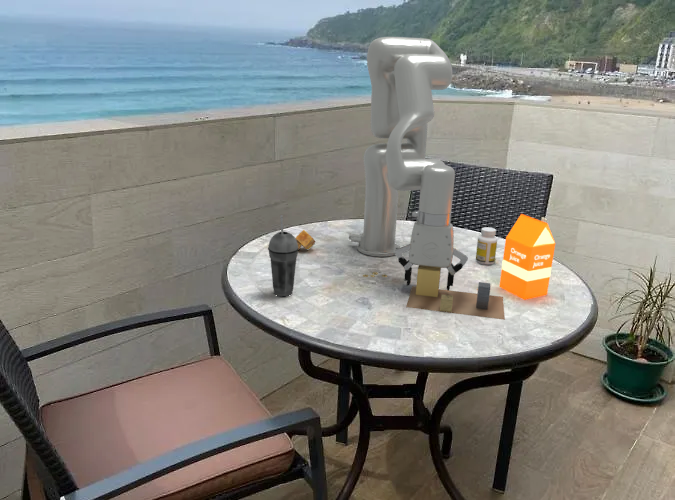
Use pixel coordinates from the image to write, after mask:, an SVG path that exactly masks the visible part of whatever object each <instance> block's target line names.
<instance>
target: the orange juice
mask: <svg viewBox="0 0 675 500" xmlns="http://www.w3.org/2000/svg"><path fill="white" fill-rule="evenodd" d="M504 243H505V244H504V251H503V259H502V263H501V272H500V280H499V288H501V289H503V290H505V291H506V292H508V293H510V294H512V295H514V296H516V297H518V298H520V299H521V300H524V301H525V300H529V299H534V298H539V297H543V296H547V295H548V291H549V285H550V284H549V283H550V278H551V273H552V267H553V261H554V255H555V248H556V242H555V239H554V237H553V234H552V231H551V229H550V226H549V223H548V222H547V223H545V222H543V221H541V220H539V219H537V218H534V217H531V216H529V215H526V214H523V213H520V215H519V216H518V218H517V220H516V222H515V223H514V225H513V226H512V227H511V229H510V231H509V232H508V234H507V235H506V237H505V242H504Z"/></svg>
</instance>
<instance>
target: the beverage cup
mask: <svg viewBox="0 0 675 500" xmlns="http://www.w3.org/2000/svg"><path fill="white" fill-rule="evenodd" d="M298 250H299V248H298V244H297V240H296V237H295V236H294V235H293V234H292V233H290V232H288V231H284V220H283V215H281V214H280V231H278V232H276V233H275V234H273V236H272V237H270V239H269V242H268V248H267V251H268V255H269V258H270V267H271V279H272V289H273V294H275V295H277V296H276V297H278V296H289V295H291V294H292V295H293V291H294V284H295V275H296V266H297V265H296V264H297V258H298V254H299V253H298V252H299V251H300V250H299V251H298ZM275 295H274V296H275ZM292 295H291V296H292ZM289 297H290V296H289Z"/></svg>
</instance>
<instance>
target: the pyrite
mask: <svg viewBox="0 0 675 500" xmlns="http://www.w3.org/2000/svg"><path fill="white" fill-rule="evenodd" d="M295 238H296V240H297V244H298V248H299V249H300V250H301V248H302V247H303V248H304V249H305V250H306V249H309V248H310V249H311V248H312V247H313V246H314V245H315V243H316V240H315V239H314V238H313V237H312V236H311V235H310V233H308V232H307V231H306V230H305V229H302V230H301V231H300V232H299V233H298V234H297V236H296V237H295ZM310 249H309V250H310Z"/></svg>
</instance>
